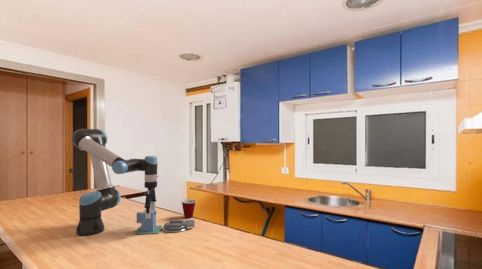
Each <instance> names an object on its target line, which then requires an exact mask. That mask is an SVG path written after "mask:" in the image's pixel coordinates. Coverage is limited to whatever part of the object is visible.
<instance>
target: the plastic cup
mask: <svg viewBox="0 0 482 269" xmlns="http://www.w3.org/2000/svg"><path fill="white" fill-rule="evenodd" d="M180 201H181V205H182V211H183V216H184V218H185V219H193V217H194V211H195V208H196V203H197V200H196V199H192V198H191V199H190V198H187V199H182V200H180Z"/></svg>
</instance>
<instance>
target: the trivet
mask: <svg viewBox="0 0 482 269" xmlns="http://www.w3.org/2000/svg"><path fill="white" fill-rule="evenodd" d="M162 227H163V225H156V228H155V229H154V231H146V232H141V225H140V226H139V227H138V228H137V229H136V231H134V233H133V236H139V235H140V236H142V235H144V236H145V235H159V234H160V232H161V230H162V229H163V228H162Z"/></svg>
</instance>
